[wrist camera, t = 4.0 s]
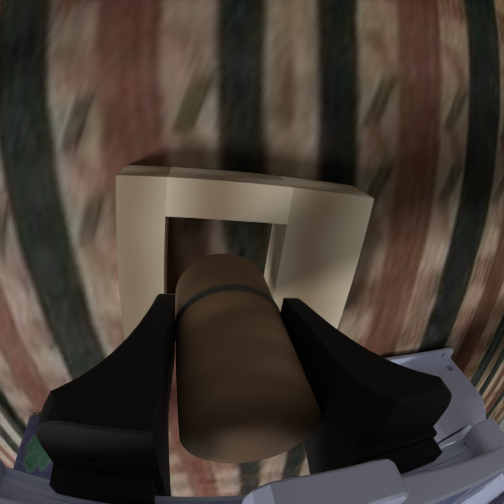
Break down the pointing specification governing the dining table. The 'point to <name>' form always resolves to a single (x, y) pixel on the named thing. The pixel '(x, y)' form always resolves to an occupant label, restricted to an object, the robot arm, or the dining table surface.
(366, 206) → the board
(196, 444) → the peg
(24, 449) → the flask
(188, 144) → the dining table surface
